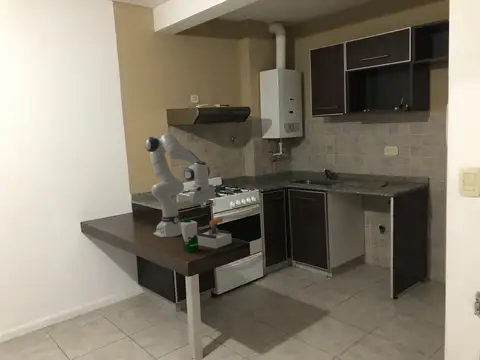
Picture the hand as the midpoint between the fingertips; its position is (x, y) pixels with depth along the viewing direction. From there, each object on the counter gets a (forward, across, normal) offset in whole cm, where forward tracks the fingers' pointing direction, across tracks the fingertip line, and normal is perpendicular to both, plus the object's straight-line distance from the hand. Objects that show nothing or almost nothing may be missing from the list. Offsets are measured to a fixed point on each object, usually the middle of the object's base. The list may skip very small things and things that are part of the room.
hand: (203, 207), depth 261 cm
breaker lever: (+16, 0, +8) cm, 17 cm away
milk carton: (+23, +18, +6) cm, 30 cm away
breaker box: (+23, 0, +8) cm, 24 cm away
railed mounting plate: (+17, 0, +8) cm, 19 cm away
